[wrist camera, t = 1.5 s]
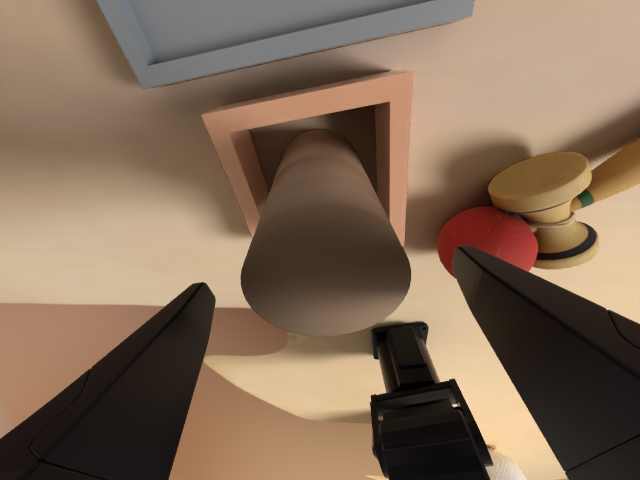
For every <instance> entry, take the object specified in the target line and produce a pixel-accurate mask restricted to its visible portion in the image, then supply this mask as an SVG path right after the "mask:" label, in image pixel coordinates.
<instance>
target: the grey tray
mask: <svg viewBox="0 0 640 480" xmlns="http://www.w3.org/2000/svg"><path fill="white" fill-rule="evenodd" d="M96 1H97V3H98V5H99V7H100V9H101V11H102V13H103V15H104V16H105V18H106V20H107V22H108V24H109V26H110V28H111V30H112V32H113V34H114V36H115V37H116V39H117V41H118V43H119V45H120V47H121V49H122V51H123V53H124V55H125V57H126V58H127V60H128V62H129V64H130V66H131V68H132V70H133V72H134V74H135V76H136V78H137V79H138V81H139V83H140V85H141V87H142V89H145V88H154V87H162V86H167V85H172V84H176V83H181V82H185V81H190V80H194V79H199V78H203V77H208V76H212V75H217V74H222V73H226V72H231V71H235V70H240V69H244V68H249V67H253V66H258V65H262V64H267V63H272V62H276V61H281V60H285V59H290V58H294V57H299V56H303V55H308V54H312V53H317V52H322V51H326V50H331V49H335V48H340V47H344V46H349V45H353V44H358V43H362V42H367V41H372V40H376V39H381V38H385V37H390V36H394V35H399V34H403V33H408V32H412V31H417V30H422V29H426V28H431V27H435V26H440V25H444V24H449V23H453V22H456V21H459V20H462V19H465V18H468V17H471V16H472V13H473V6H474V0H96Z"/></svg>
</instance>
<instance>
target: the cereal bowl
mask: <svg viewBox="0 0 640 480" xmlns="http://www.w3.org/2000/svg"><path fill="white" fill-rule="evenodd" d="M487 449H488V451H489V454H490V456H491V459H492V462H493V465H494V466H488V467H486V470H487V472H488V475H489V477H490V479H491V480H526V478H525V476H524V474H523V473H522V471H521V469H520V468H519V466H518V465H517V464H516V463H515V462H514V461H513V460H511V459H510V458H509V457H507V456H505V455H503V454H501V453H498V452H495V451H493V450H491V449H490V448H488V447H487Z"/></svg>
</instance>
